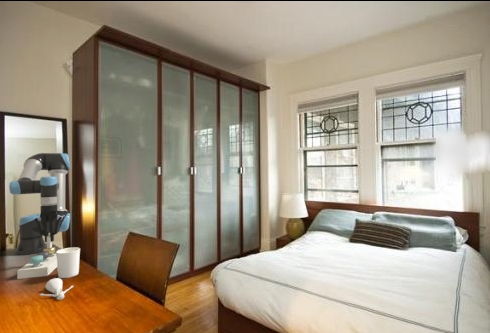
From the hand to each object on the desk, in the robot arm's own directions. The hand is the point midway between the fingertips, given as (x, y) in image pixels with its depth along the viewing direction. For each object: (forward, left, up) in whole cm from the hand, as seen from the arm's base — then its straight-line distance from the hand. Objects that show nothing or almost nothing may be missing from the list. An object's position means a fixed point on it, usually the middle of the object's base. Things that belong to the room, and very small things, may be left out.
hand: (49, 247), depth 149 cm
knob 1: (+15, -4, -7) cm, 17 cm away
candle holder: (+26, +9, -9) cm, 29 cm away
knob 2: (0, 0, -7) cm, 7 cm away
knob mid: (+8, -2, -7) cm, 11 cm away
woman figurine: (+47, +6, -9) cm, 48 cm away
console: (+8, -2, -9) cm, 12 cm away
